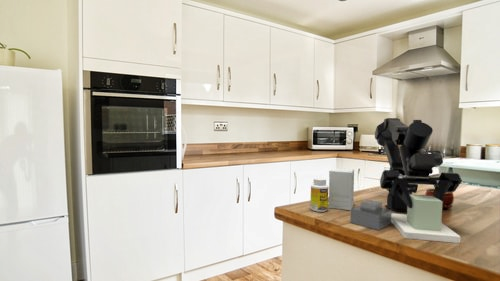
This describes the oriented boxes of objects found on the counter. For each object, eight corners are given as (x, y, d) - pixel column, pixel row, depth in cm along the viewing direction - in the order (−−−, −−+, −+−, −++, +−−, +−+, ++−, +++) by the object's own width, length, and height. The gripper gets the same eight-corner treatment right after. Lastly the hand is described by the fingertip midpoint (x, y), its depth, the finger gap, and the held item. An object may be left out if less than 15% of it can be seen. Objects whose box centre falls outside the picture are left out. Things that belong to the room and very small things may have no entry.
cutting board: (388, 218, 86) (388, 213, 86) (432, 221, 84) (433, 216, 84) (404, 238, 71) (405, 232, 71) (460, 243, 68) (460, 236, 68)
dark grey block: (363, 216, 87) (364, 197, 87) (391, 223, 81) (391, 202, 81) (350, 222, 82) (351, 201, 82) (378, 230, 76) (379, 207, 76)
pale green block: (406, 221, 79) (408, 194, 78) (431, 223, 78) (432, 195, 77) (414, 229, 73) (415, 199, 73) (440, 231, 72) (442, 201, 71)
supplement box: (353, 205, 100) (355, 169, 99) (351, 211, 93) (352, 172, 93) (332, 202, 103) (333, 167, 103) (328, 207, 97) (328, 170, 96)
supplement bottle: (319, 213, 90) (320, 180, 90) (306, 209, 95) (307, 178, 94) (331, 210, 93) (332, 179, 93) (318, 206, 98) (319, 176, 97)
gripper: (383, 141, 80) (393, 189, 70) (460, 142, 76) (481, 193, 66) (376, 165, 88) (384, 211, 78) (445, 168, 84) (462, 217, 74)
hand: (425, 208), depth 74 cm, fingers open, 7 cm apart
